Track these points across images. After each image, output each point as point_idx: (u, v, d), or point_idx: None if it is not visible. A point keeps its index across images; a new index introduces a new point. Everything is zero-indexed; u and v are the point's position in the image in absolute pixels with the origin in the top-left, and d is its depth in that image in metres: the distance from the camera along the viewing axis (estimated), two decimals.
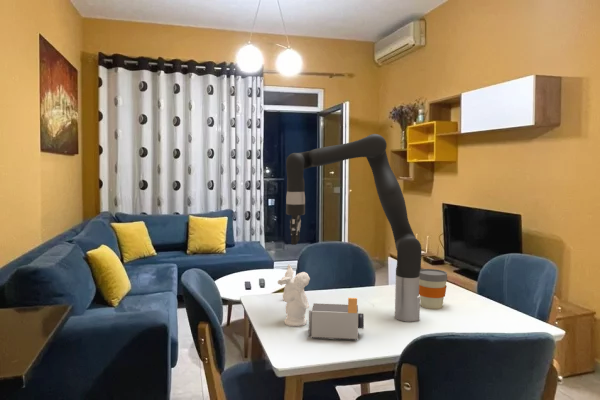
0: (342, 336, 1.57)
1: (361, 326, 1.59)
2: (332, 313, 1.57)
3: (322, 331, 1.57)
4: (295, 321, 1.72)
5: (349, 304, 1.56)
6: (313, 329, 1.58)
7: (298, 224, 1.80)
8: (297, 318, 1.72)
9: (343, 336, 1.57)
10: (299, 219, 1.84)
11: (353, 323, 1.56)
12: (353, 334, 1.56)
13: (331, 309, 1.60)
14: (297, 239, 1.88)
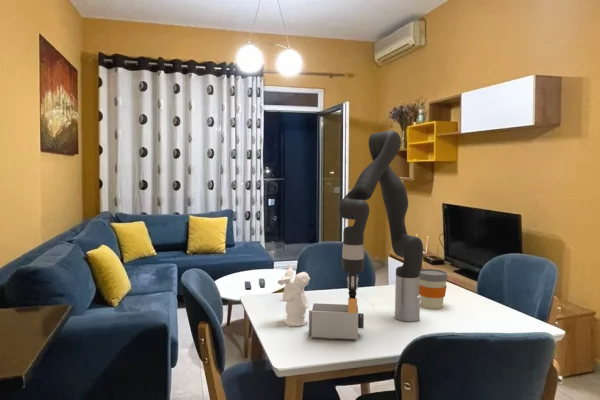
0: (342, 336, 1.57)
1: (361, 326, 1.59)
2: (332, 313, 1.57)
3: (322, 331, 1.57)
4: (295, 321, 1.72)
5: (349, 304, 1.56)
6: (313, 329, 1.58)
7: (357, 283, 1.57)
8: (297, 318, 1.72)
9: (343, 336, 1.57)
10: None
11: (353, 323, 1.56)
12: (353, 334, 1.56)
13: (331, 309, 1.60)
14: None
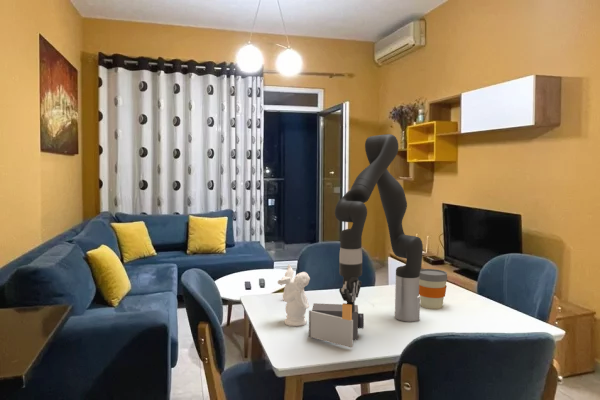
0: (337, 342, 1.52)
1: (361, 326, 1.59)
2: (328, 316, 1.53)
3: (320, 333, 1.55)
4: (295, 321, 1.72)
5: (343, 310, 1.50)
6: (312, 329, 1.57)
7: (352, 289, 1.49)
8: (297, 318, 1.72)
9: (338, 342, 1.51)
10: (356, 280, 1.52)
11: (347, 330, 1.49)
12: (347, 342, 1.49)
13: (331, 309, 1.60)
14: None
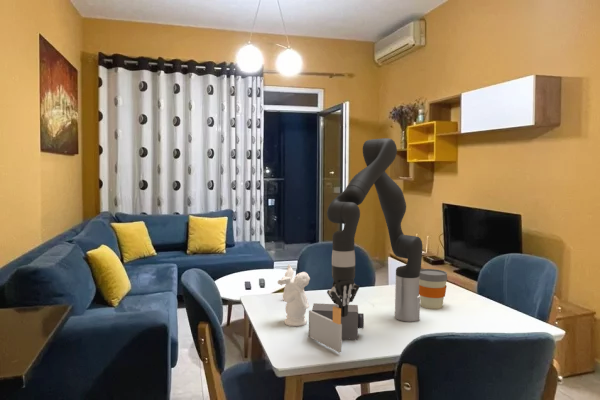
0: (328, 345, 1.49)
1: (361, 326, 1.59)
2: (322, 318, 1.51)
3: (316, 334, 1.54)
4: (295, 321, 1.72)
5: (333, 313, 1.46)
6: (311, 330, 1.57)
7: (343, 293, 1.45)
8: (297, 318, 1.72)
9: (329, 345, 1.49)
10: (349, 284, 1.47)
11: (336, 334, 1.46)
12: (336, 346, 1.46)
13: (331, 309, 1.60)
14: None
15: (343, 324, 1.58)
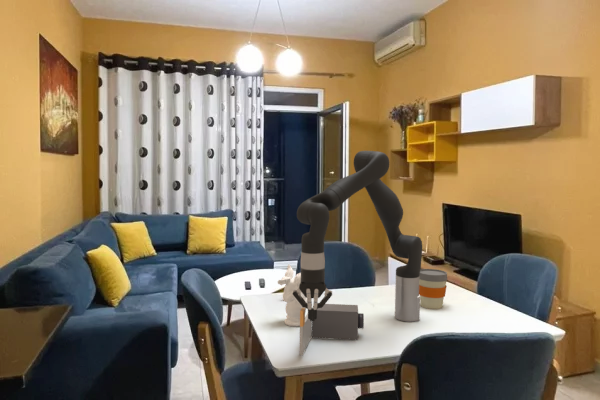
0: None
1: (361, 326, 1.59)
2: (304, 319, 1.51)
3: None
4: (295, 321, 1.72)
5: None
6: None
7: (306, 296, 1.41)
8: (297, 318, 1.72)
9: None
10: (316, 288, 1.41)
11: None
12: None
13: (331, 309, 1.60)
14: None
15: (343, 324, 1.58)
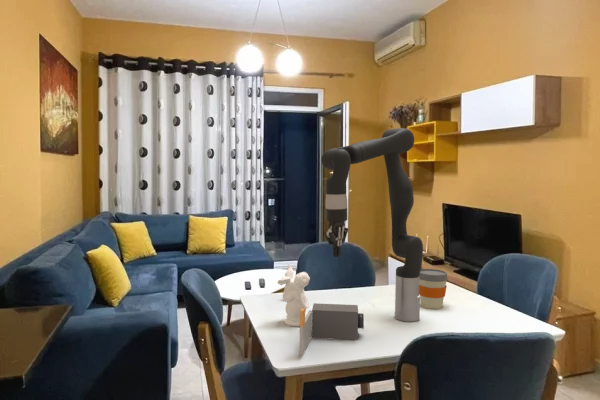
0: None
1: (361, 326, 1.59)
2: (304, 319, 1.51)
3: None
4: (295, 321, 1.72)
5: None
6: None
7: (338, 234, 1.56)
8: (297, 318, 1.72)
9: None
10: (342, 225, 1.58)
11: None
12: None
13: (331, 309, 1.60)
14: None
15: (343, 324, 1.58)
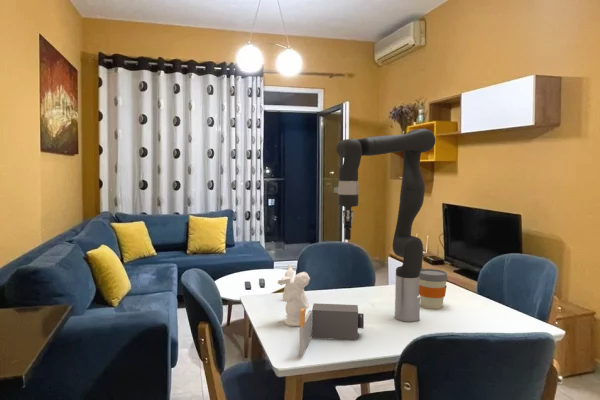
0: None
1: (361, 326, 1.59)
2: (304, 319, 1.51)
3: None
4: (295, 321, 1.72)
5: None
6: None
7: (352, 218, 1.68)
8: (297, 318, 1.72)
9: None
10: None
11: None
12: None
13: (331, 309, 1.60)
14: None
15: (343, 324, 1.58)
